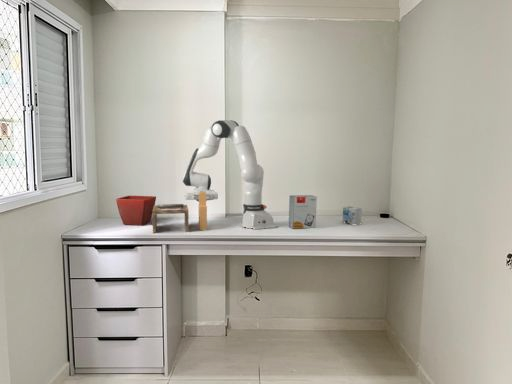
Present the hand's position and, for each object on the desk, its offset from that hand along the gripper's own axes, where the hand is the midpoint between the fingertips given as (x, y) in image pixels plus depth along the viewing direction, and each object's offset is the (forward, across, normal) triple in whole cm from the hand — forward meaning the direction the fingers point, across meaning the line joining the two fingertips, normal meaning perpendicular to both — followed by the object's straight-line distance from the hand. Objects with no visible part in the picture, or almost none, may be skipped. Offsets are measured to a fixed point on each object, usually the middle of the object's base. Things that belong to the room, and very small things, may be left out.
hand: (202, 197), depth 228 cm
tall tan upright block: (+2, 0, +18) cm, 19 cm away
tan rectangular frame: (+2, -19, +18) cm, 27 cm away
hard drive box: (+11, +61, +19) cm, 65 cm away
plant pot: (-19, -40, +18) cm, 48 cm away
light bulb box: (+5, +98, +19) cm, 100 cm away
